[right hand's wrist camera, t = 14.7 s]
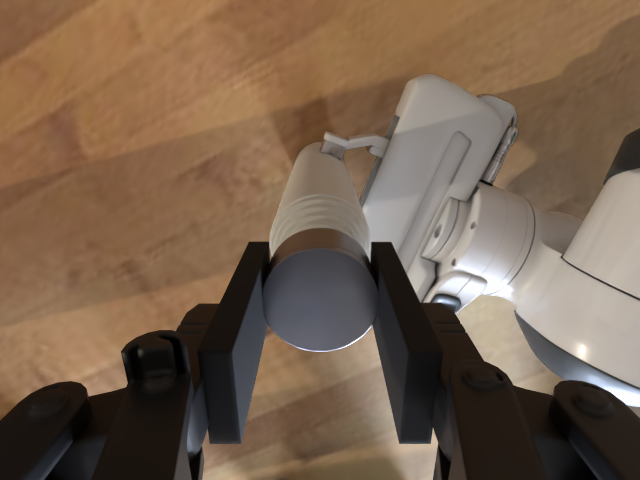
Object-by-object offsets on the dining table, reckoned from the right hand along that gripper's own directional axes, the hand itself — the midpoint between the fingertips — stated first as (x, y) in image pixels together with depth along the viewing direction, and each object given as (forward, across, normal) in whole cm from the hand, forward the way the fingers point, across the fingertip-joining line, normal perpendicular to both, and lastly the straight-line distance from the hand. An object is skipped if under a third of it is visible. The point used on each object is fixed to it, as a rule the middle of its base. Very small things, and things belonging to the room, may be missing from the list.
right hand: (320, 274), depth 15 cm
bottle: (+23, 0, 0) cm, 23 cm away
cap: (-2, 0, 0) cm, 2 cm away
